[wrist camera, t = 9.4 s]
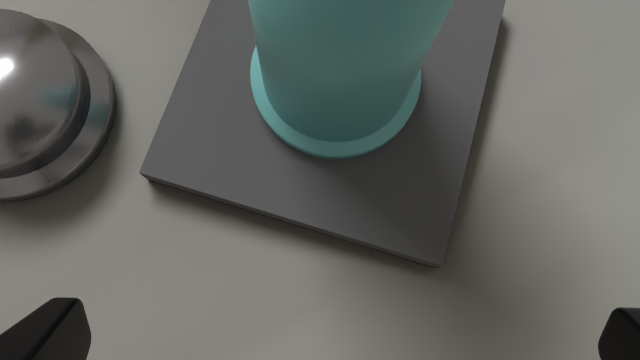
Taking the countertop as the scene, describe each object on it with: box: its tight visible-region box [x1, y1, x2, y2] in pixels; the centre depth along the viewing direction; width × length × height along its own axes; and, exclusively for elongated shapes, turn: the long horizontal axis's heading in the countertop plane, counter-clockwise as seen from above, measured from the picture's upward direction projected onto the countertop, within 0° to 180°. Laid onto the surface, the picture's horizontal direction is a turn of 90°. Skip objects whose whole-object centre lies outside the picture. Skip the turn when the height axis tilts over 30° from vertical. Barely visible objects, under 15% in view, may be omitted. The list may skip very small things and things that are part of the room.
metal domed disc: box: [0, 9, 116, 201], centre depth 16 cm, size 6×6×2 cm
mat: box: [139, 0, 505, 268], centre depth 17 cm, size 10×10×1 cm
